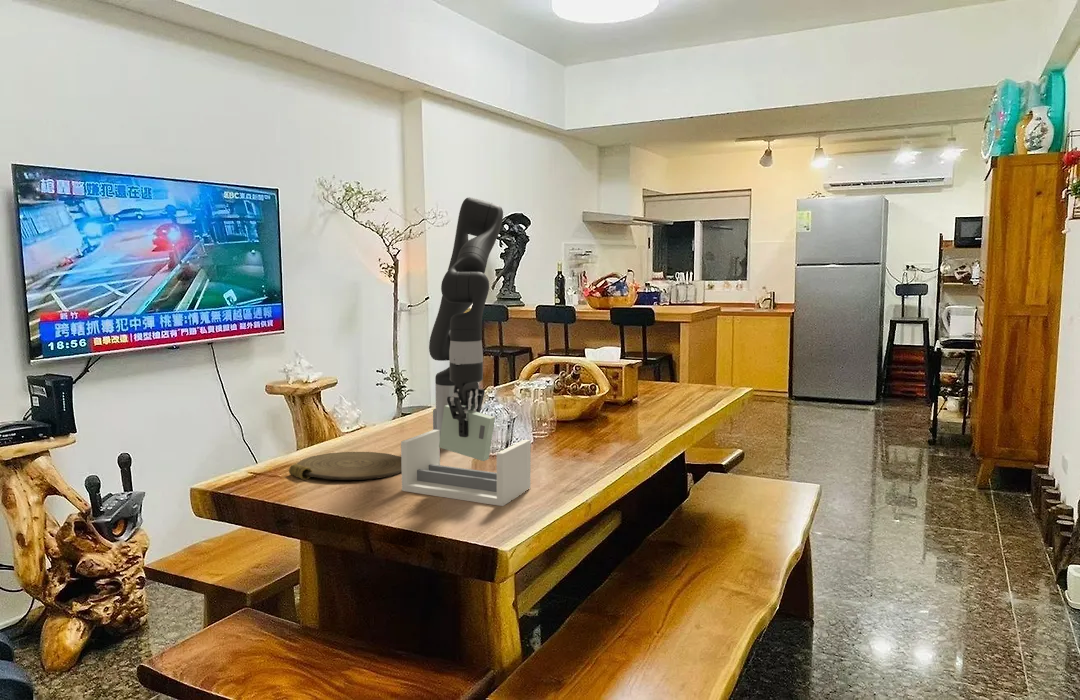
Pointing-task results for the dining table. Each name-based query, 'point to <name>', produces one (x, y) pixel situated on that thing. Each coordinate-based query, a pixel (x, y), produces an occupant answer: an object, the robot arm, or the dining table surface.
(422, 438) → the grey u-shaped open holder
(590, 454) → the dining table surface
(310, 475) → the decorative disc
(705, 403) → the dining table surface
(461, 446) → the door panel
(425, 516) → the dining table surface
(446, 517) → the dining table surface
